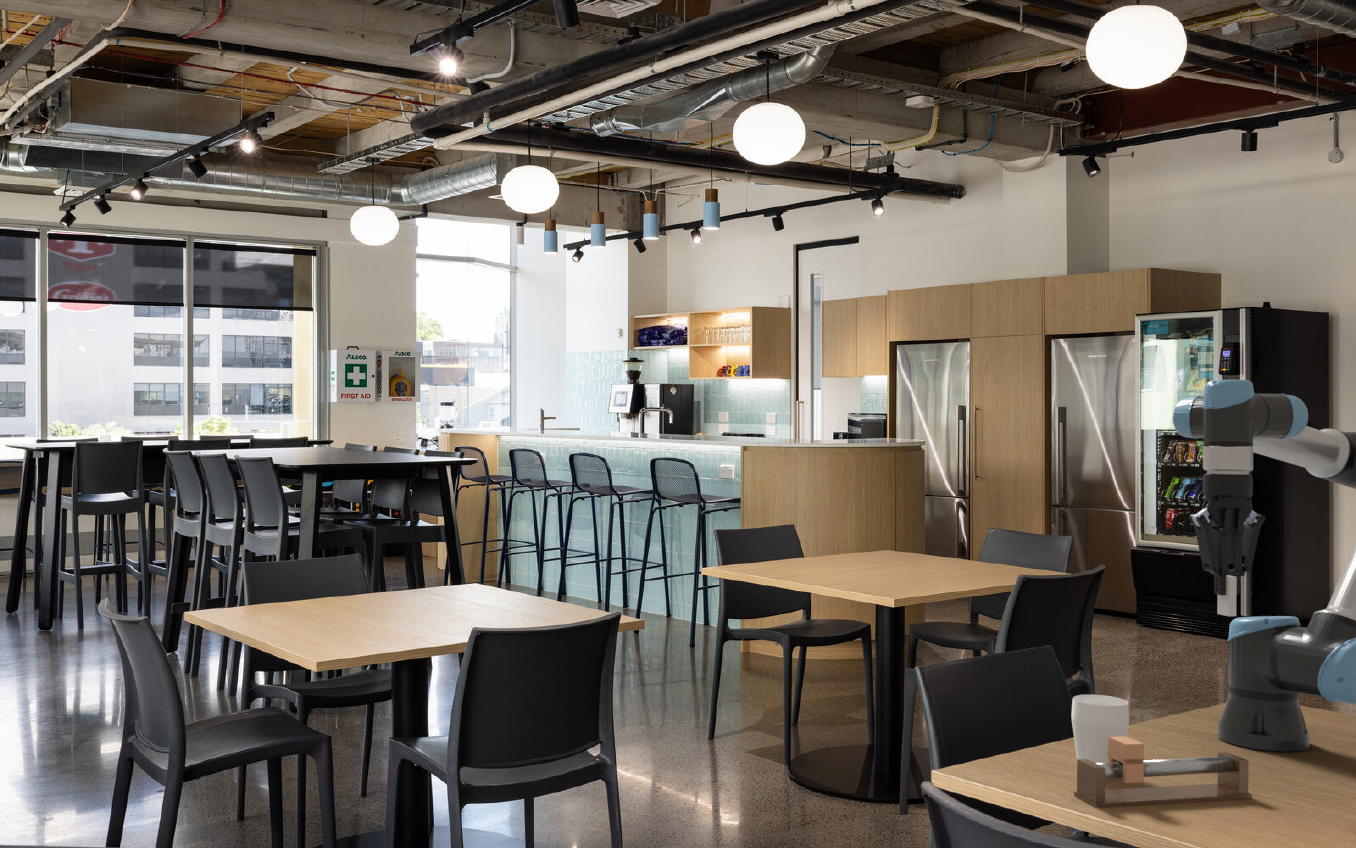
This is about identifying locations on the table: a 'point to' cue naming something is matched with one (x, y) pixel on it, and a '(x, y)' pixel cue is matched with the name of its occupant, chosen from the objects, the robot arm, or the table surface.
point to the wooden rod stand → (1228, 788)
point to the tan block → (1127, 757)
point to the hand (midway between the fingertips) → (1226, 615)
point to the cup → (1097, 724)
